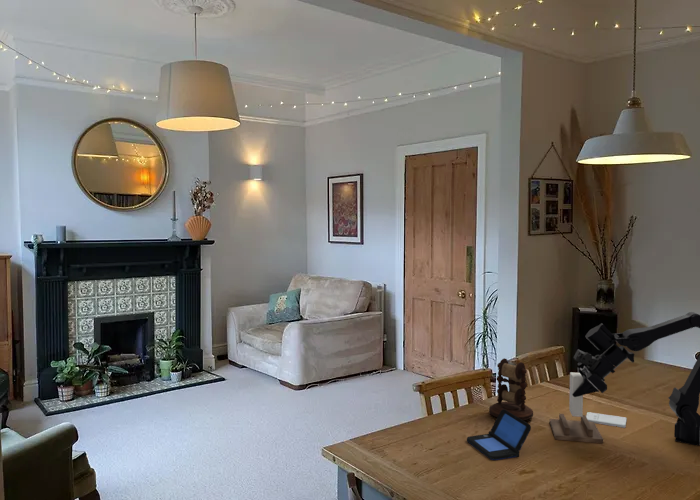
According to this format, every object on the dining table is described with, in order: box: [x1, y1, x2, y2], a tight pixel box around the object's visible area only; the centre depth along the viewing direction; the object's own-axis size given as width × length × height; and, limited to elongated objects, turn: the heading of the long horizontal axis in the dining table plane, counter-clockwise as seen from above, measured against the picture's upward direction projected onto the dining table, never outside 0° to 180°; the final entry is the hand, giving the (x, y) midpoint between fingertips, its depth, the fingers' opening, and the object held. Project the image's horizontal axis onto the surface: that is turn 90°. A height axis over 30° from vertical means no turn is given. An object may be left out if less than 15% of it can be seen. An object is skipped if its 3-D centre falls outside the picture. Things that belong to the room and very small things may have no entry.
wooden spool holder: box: [488, 358, 534, 421], centre depth 198 cm, size 15×15×20 cm
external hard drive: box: [585, 411, 628, 429], centre depth 194 cm, size 2×8×12 cm
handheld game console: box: [466, 409, 532, 461], centre depth 172 cm, size 16×13×9 cm
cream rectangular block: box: [568, 371, 584, 418], centre depth 183 cm, size 3×6×12 cm, turn 168°
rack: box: [549, 413, 604, 444], centre depth 184 cm, size 14×15×4 cm
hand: (571, 392), depth 183 cm, fingers closed on cream rectangular block, 6 cm apart
